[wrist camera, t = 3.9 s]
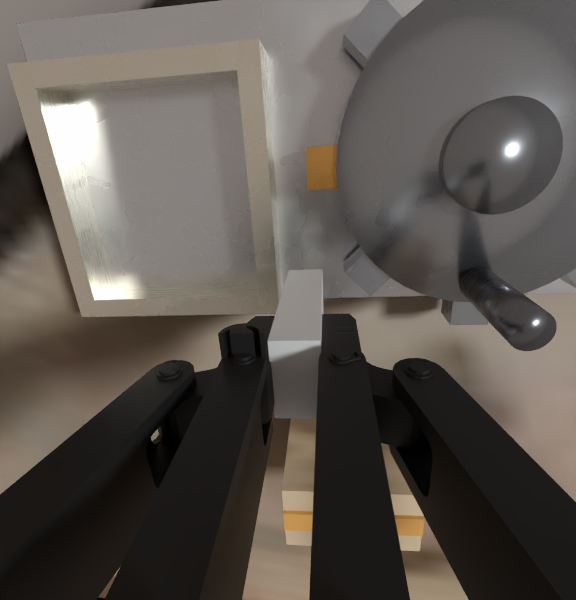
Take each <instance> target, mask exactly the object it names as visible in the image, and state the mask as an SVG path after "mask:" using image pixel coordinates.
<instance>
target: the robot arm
mask: <svg viewBox="0 0 576 600" xmlns="http://www.w3.org/2000/svg"><path fill="white" fill-rule="evenodd" d="M218 336H219V343H220V349H221V356H222V359H221V361H220V363H219V365H218V367H217V368H215V369H211V370H206V371H201V372H194V366H193V365H192V364H191V363H190V362H187V361H184V360H171V361H167V362H164V363H162V364H159V365H157V366H156V367H154V368H152V369H151V370H150V371H148V372H147V373H146V374H145V375H144V376H142V377H141V378H140V379H139V380H138V381H136V382H135V383H134V384H133V385H132V386H130V387H129V388H128V389H127V390H126V391H124V392H123V393H122V394H121V395H120V396H118V397H117V398H116V399H115V400H114V401H112V402H111V403H110V404H109V405H108V406H106V407H105V408H104V409H103V410H102V411H100V412H99V413H98V414H97V415H96V416H94V417H93V418H92V419H91V420H90V421H88V422H87V423H86V424H85V425H83V426H82V427H81V428H80V429H79V430H77V431H76V432H75V433H74V434H73V435H71V436H70V437H69V438H68V439H67V440H65V441H64V442H63V443H62V444H61V445H59V446H58V447H57V448H56V449H55V450H53V451H52V452H51V453H50V454H49V455H47V456H46V457H45V458H44V459H43V460H41V461H40V462H39V463H38V464H37V465H35V466H34V467H33V468H32V469H31V470H29V471H28V472H27V473H26V474H25V475H23V476H22V477H21V478H20V479H19V480H17V481H16V482H15V483H14V484H12V485H11V486H10V487H9V488H8V489H6V490H5V491H4V492H3V493H2V494H0V600H96V599H97V598H98V597H99V595H100V594H101V593H102V591H103V590H104V588H105V587H106V586H107V584H108V583H109V581H110V580H111V579H112V577H113V576H114V574H115V573H116V572H117V570H118V569H119V567H120V566H121V567H120V569H119V571H118V573H117V575H116V577H115V579H114V581H113V583H112V585H111V587H110V590H109V592H108V594H107V596H106V598H105V600H242V596H243V590H244V585H245V579H246V574H247V569H248V563H249V558H250V552H251V547H252V541H253V536H254V530H255V525H256V519H257V514H258V508H259V503H260V497H261V492H262V486H263V481H264V475H265V470H266V465H267V459H268V454H269V448H270V443H271V437H272V432H273V427H272V412H273V407H274V417H275V418H288V419H316V441H315V467H314V494H313V520H312V546H311V573H310V599H309V600H410V597H409V592H408V586H407V581H406V575H405V570H404V564H403V559H402V554H401V548H400V543H399V537H398V532H397V526H396V521H395V516H394V510H393V505H392V499H391V494H390V488H389V483H388V478H387V472H386V467H385V461H384V456H383V450H382V445H381V443H383V444H387V445H389V449H390V453H391V455H392V457H393V459H394V460H395V462H396V464H397V466H398V468H399V470H400V472H401V474H402V475H403V477H404V479H405V481H406V483H407V485H408V487H409V489H410V490H411V492H412V494H413V496H414V498H415V500H416V502H417V504H418V505H419V507H420V509H421V511H422V513H423V515H424V517H425V519H426V520H427V522H428V524H429V526H430V528H431V530H432V532H433V534H434V535H435V537H436V539H437V541H438V543H439V545H440V547H441V549H442V550H443V552H444V554H445V556H446V558H447V560H448V562H449V564H450V565H451V567H452V569H453V571H454V573H455V575H456V577H457V579H458V580H459V582H460V584H461V586H462V588H463V590H464V592H465V594H466V595H467V597H468V599H469V600H576V502H575V501H574V500H573V499H572V498H571V497H570V496H569V495H568V494H567V493H566V492H565V491H564V490H563V489H562V488H561V487H560V486H559V485H558V484H557V483H556V482H555V481H554V480H553V479H552V478H551V477H550V476H549V475H548V474H547V473H546V472H545V471H544V470H543V469H542V468H541V467H540V466H539V465H538V464H537V463H536V462H535V461H534V460H533V459H532V458H531V457H530V456H529V455H528V454H527V453H526V452H525V451H524V450H523V449H522V448H521V447H520V446H519V445H518V444H517V442H516V441H515V440H514V439H513V438H512V437H511V436H510V435H509V434H508V433H507V432H506V431H505V430H504V429H503V428H502V427H501V426H500V425H499V424H498V423H497V422H496V421H495V420H494V419H493V418H492V417H491V416H490V415H489V414H488V413H487V412H486V411H485V410H484V409H483V408H482V407H481V406H480V405H479V404H478V403H477V402H476V401H475V400H474V399H473V398H472V397H471V396H470V395H469V394H468V393H467V392H466V391H465V390H464V389H463V388H462V387H461V386H460V385H459V384H458V383H457V382H456V381H455V380H454V379H453V378H452V377H451V376H450V375H449V374H448V373H447V372H446V371H445V370H444V369H443V368H442V367H441V366H439V365H438V364H436V363H434V362H431V361H429V360H426V359H421V358H408V359H404V360H400V361H399V362H397V363H396V364H395V365H394V367H393V370H388V369H383V368H379V367H376V366H373V365H371V364H370V363H368V362H367V361H366V358H365V356H364V354H363V353H362V352H361V348H360V342H359V336H358V330H357V325H356V320H355V319H354V318H353V317H352V316H351V315H350V314H324V311H323V274H322V269H311V270H289V271H288V274H287V278H286V281H285V284H284V288H283V291H282V294H281V298H280V301H279V304H278V308H277V311H276V314H275V316H255V317H254V318H253V319H251V320H250V321H249V322H248V323H243V324H235V325H232V326H228V327H226V328H224V329H223V330H221V331H220V332H219V333H218ZM157 429H158V432H159V436H158V437H157V438H156V439H155V440H153V441H151V436H152V435H153V433H154V432H155V431H156V430H157Z"/></svg>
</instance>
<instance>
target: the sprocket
mask: <svg viewBox="0 0 576 600" xmlns="http://www.w3.org/2000/svg"><path fill="white" fill-rule="evenodd" d="M342 45H343V46H344V47H345V49H346V50H347V51H348V52H349V53H350V54H351V55H352V56H353V57H354V58H355V59H356V60H357V61H358V62H359V64H360V65H361V66H362V67H363V68H364V69H363V71H362V73H361V74H360V76H359V78H358V80H357V82H356V84H355V86H354V88H353V90H352V93H351V95H350V97H349V100H348V102H347V104H346V107H345V110H344V113H343V117H342V120H341V123H340V127H339V132H338V138H337V144H336V145H330V146H315V147H306V164H307V190H318V189H336V188H337V189H338V194H339V198H340V203H341V206H342V209H343V212H344V215H345V218H346V220H347V223H348V226H349V228H350V229H351V231H352V233H353V235H354V237H355V239H356V241H357V242H358V244H359V245H360V247H359V248H358V249H357V250H356V251H355V252H354V253H353V254H352V255H351V256H350V257H349V258H348V259H347V260H346V261H345V262H344V263H343V266H344V273H345V274H346V275H348V276H349V277H350V278H351V279H352V280H353V281H354V282H355V283H356V284H357V285H359V286H360V287H361V288H362V289H363V290H364V291H365V292H366V293H367V294H368V295H370V296H371V295H372V294H374V293H375V292H376V291H377V290H378V289H379V288H380V287H381V286H382V285H383V284H385V283H386V282H387V281H388V280H389V279H390V278H392V279H393V280H395V281H397V282H398V283H400V284H401V285H403V286H405V287H407V288H409V289H411V290H414V291H416V292H418V293H420V294H423V295H427V296H430V297H434V298H437V299H442V307H441V313H442V314H443V315H444V317H445V318H446V320H447V321H448V322H449V324H450V325H485V324H488V321H489V322H490V323H491V324H492V326H493V327H494V328H495V329H496V330H497V331H498V332H499V333H500V334H501V335H502V336H503V337H504V338H505V339H506V340H507V341H508V342H509V343H510V344H511V345H512V346H513V347H514V348H516V349H518V350H522V351H532V350H536V349H539V348H541V347H543V346H545V345H546V344H547V343H549V342H550V341H551V339H552V338H553V337H554V335H555V332H556V321H555V319H554V317H553V316H552V315H551V314H550V313H548V312H547V311H545V310H544V309H543V308H541V307H540V306H539V305H537V304H536V303H534V302H533V301H532V300H530V299H529V298H528V297H526V296H525V295H524V293H527V292H530V291H533V290H535V289H538V288H540V287H542V286H545V285H547V284H549V283H551V282H553V281H555V280H557V279H559V278H560V279H561V280H562V281H564V282H566V283H568V284H569V285H571V286H573V287H575V288H576V0H423V1H422V2H421V3H420V4H419V5H417V6H416V7H415V8H414V9H413V10H412V11H410V12H409V13H408V14H407V15H406V16H405V17H403V18H402V17H401V15H400V14H399V13H398V12H397V11H396V10H395V9H394V7H393V6H392V5H391V4H390V3H389V2H388V1H387V0H370V1H369V2H368V3H367V5H366V6H365V7H364V8H363V10H362V11H361V12H360V14H359V15H358V16H357V17H356V19H355V20H354V21H353V23H352V24H351V25H350V26H349V28H348V29H347V30H346V32H345V33H344V35H343V41H342Z"/></svg>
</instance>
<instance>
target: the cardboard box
mask: <svg viewBox="0 0 576 600" xmlns="http://www.w3.org/2000/svg"><path fill="white" fill-rule="evenodd" d="M315 441H316V419H291V421H290V429H289V437H288V445H287V453H286V461H285V469H284V477H283V485H282V499H283V510H284V511H283V517H284V528H285V531H286V542H287V545H306V546H312V520H313V494H314V467H315ZM381 445H382V450H383V456H384V461H385V467H386V472H387V478H388V483H389V488H390V494H391V499H392V505H393V510H394V516H395V521H396V526H397V532H398V537H399V543H400V548H401V550H406V551H420V544H421V536H423V529H424V515H423V513H422V511H421V509H420V507H419V505H418V504H417V502H416V500H415V498H414V496H413V494H412V492H411V490H410V489H409V487H408V485H407V483H406V481H405V479H404V477H403V475H402V474H401V472H400V470H399V468H398V466H397V464H396V462H395V460H394V459H393V457H392V455H391V453H390V449H389V445H387V444H383V443H381Z"/></svg>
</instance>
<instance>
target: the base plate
mask: <svg viewBox="0 0 576 600" xmlns="http://www.w3.org/2000/svg"><path fill="white" fill-rule="evenodd" d="M369 1H370V0H222V1H213V2H204V3H195V4H186V5H177V6H168V7H159V8H150V9H141V10H132V11H123V12H114V13H105V14H96V15H88V16H78V17H70V18H60V19H51V20H43V21H34V22H25V23H17V28H18V31H19V35H20V38H21V42H22V46H23V49H24V52H25V56H26V60H27V62H19V63H10V64H7V66H8V69H9V73H10V76H11V79H12V83H13V86H14V90H15V93H16V96H17V100H18V103H19V107H20V110H21V113H22V117H23V120H24V124H25V127H26V130H27V134H28V137H29V140H30V144H31V147H32V151H33V154H34V157H35V161H36V164H37V167H38V171H39V174H40V178H41V181H42V184H43V188H44V191H45V194H46V198H47V201H48V205H49V208H50V211H51V215H52V218H53V221H54V225H55V228H56V232H57V235H58V238H59V242H60V245H61V248H62V252H63V255H64V259H65V262H66V265H67V269H68V272H69V275H70V279H71V282H72V286H73V289H74V292H75V296H76V299H77V302H78V306H79V309H80V313H81V316H82V317H116V316H171V315H226V314H276V311H277V308H278V304H279V301H280V298H281V294H282V291H283V288H284V284H285V281H286V278H287V274H288V271H289V270H311V269H322V274H323V298H355V297H400V296H427V295H423V294H420V293H418V292H416V291H414V290H411V289H409V288H407V287H405V286H403V285H401V284H400V283H398V282H397V281H395V280H393V279H392V278H390V279H389V280H388V281H387V282H386V283H385V284H383V285H382V286H381V287H380V288H379V289H378V290H377V291H376V292H375V293H374V294H372V295H371V296H370V295H368V294H367V293H366V292H365V291H364V290H363V289H362V288H361V287H360V286H359V285H357V284H356V283H355V282H354V281H353V280H352V279H351V278H350V277H349V276H348V275H346V274H345V273H344V266H343V263H344V262H345V261H346V260H347V259H348V258H349V257H350V256H351V255H352V254H353V253H354V252H355V251H356V250H357V249H358V248H359V247H360V245H359V244H358V242H357V241H356V239H355V237H354V235H353V233H352V231H351V229H350V228H349V226H348V223H347V220H346V218H345V215H344V212H343V209H342V206H341V203H340V198H339V194H338V189H337V188H336V189H318V190H307V164H306V147H315V146H330V145H336V144H337V138H338V132H339V127H340V123H341V120H342V117H343V113H344V110H345V107H346V104H347V102H348V100H349V97H350V95H351V93H352V90H353V88H354V86H355V84H356V82H357V80H358V78H359V76H360V74H361V73H362V71H363V69H364V68H363V67H362V66H361V65H360V64H359V62H358V61H357V60H356V59H355V58H354V57H353V56H352V55H351V54H350V53H349V52H348V51H347V50H346V49H345V47H344V46H343V45H342V41H343V35H344V33H345V32H346V30H347V29H348V28H349V26H350V25H351V24H352V23H353V21H354V20H355V19H356V17H357V16H358V15H359V14H360V12H361V11H362V10H363V8H364V7H365V6H366V5H367V3H368V2H369ZM387 1H388V2H389V3H390V4H391V5H392V6H393V7H394V9H395V10H396V11H397V12H398V13H399V14H400V15H401V17H402V18H403V17H405V16H406V15H407V14H408V13H409V12H410V11H412V10H413V9H414V8H415V7H416V6H417V5H419V4H420V3H421V2H422V1H423V0H387ZM535 293H576V288H575V287H573V286H571V285H569V284H568V283H566V282H564V281H562V280H561V279H560V278H559V279H557V280H555V281H553V282H551V283H549V284H547V285H545V286H542V287H540V288H538V289H535V290H533V291H530V292H527V293H524V294H535Z"/></svg>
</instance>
